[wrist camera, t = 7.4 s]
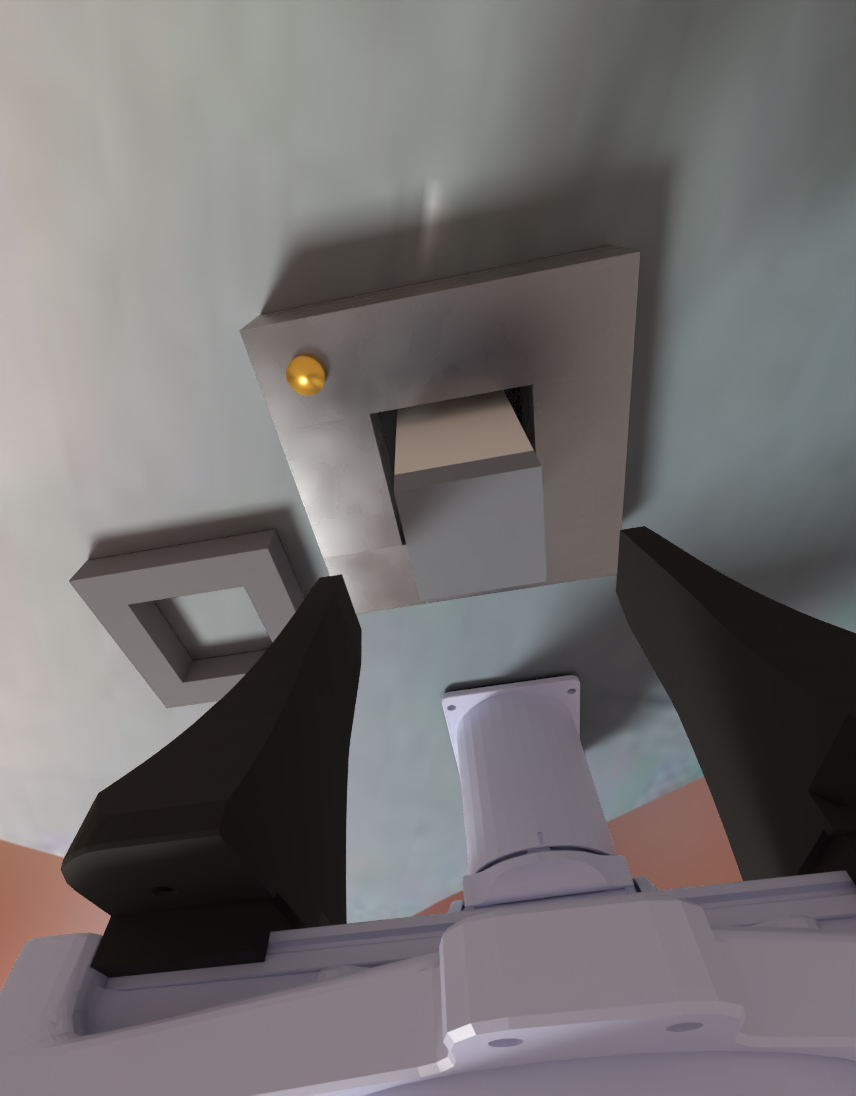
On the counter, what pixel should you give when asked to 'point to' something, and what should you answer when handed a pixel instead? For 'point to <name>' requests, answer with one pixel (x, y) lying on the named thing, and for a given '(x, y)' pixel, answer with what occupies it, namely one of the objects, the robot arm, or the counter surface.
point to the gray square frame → (140, 578)
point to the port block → (447, 373)
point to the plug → (469, 496)
